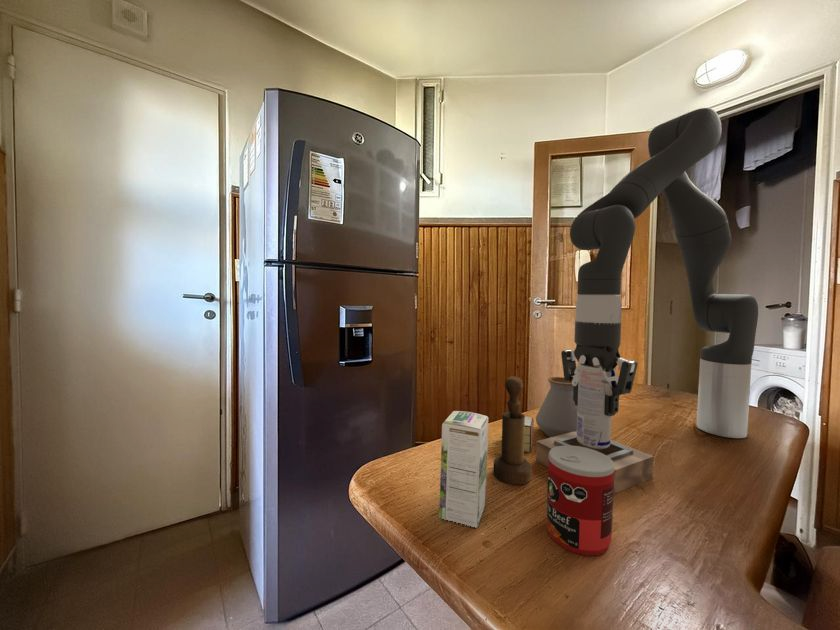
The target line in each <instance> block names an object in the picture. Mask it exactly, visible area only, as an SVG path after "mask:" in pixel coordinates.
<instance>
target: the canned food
mask: <svg viewBox="0 0 840 630" xmlns="http://www.w3.org/2000/svg"><path fill="white" fill-rule="evenodd" d="M546 488H547V489H546V491H547V492H546V494H547V495H546V520H545V521H546V522H545V523H546V528H547V532H548V534H549V536H550V538H551V539H552V540H553V541H554V542H555V543H556V544H558V545H559V546H560V547H562V548H564V549H565V550H566V551H569V552H571V553H574V554H577V555H583V556H587V557H588V556H590V557H592V556H599V555H602V554H605V553H606V552H607V551H608V550H609V548H610V545H611V542H612V531H613V513H614V512H613V510H614V495H615V494H614V463H613V461H612V460H611V459H610V458H609V457H608V456H606V455H604V454H602V453H600V452H598V451H595V450H592V449H589V448H585V447H580V446H570V445H565V446H557V447H554V448H552V449H551V450H550V451H549V456H548V468H547V487H546Z"/></svg>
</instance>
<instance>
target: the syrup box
mask: <svg viewBox="0 0 840 630" xmlns="http://www.w3.org/2000/svg"><path fill="white" fill-rule="evenodd" d="M488 436H489V417H488V416H487V415H484V414H480V413H476V412H472V411H465V410H464V411H462V410H453V411H452V412H451V413H450V415H449V416H448V417H447V418H446V419H445V420H444V421H443V423H442V425H441V443H440V444H441V446H440V447H441V450H440V451H441V452H440V453H441V455H440V478H439V479H440V483H439V485H440V486H439V513H438V518H439V519H440V518H441V519H440V520H442V519H444V520H443V521H446V520H448V521H447V522H450V521H453V522H452V523H454V522H456V523H455V524H458V523H461V524H460V525H462V524H465V525H464V526H466V525H467V526H466V527H470V526H471V528H474V527H475V529H478V527H479V525H480V522H481V519H482V516H483V513H484V510H485V507H486V498H487V497H486V496H487V495H486V494H487V467H488V465H487V464H488V442H489V441H488Z"/></svg>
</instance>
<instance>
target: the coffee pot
mask: <svg viewBox="0 0 840 630" xmlns="http://www.w3.org/2000/svg"><path fill="white" fill-rule="evenodd" d="M547 381H548V382H549V385H550V388H549V391H548V392H547V394H546V397H544V400H543V402H542V405H540V408H539V411H538V412H537V413H536V417H535V422H536V425H537V426H538V427H539V429H540V430H541V431H542V432H543V433H544V435H546V436H548V438H551V437H555V436H558V435H562V434H566V433H570V432H574V431H577V411H578V406H576V405H575V402H574V400H573V385H572V383H571V382H569V381H566V380H565V379H564V376H563V377H562V376H552V377H548V379H547Z"/></svg>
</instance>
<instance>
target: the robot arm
mask: <svg viewBox="0 0 840 630" xmlns="http://www.w3.org/2000/svg"><path fill="white" fill-rule="evenodd" d="M722 130H723V129H722V121H721V117H719V115H718V113H717V111H716V110H714V109H713V108H711V107H710V108H709V107H701V108H698V109H695V110H692V111H688V112H686V113H683V114H682V115H678V116H677V117H675V118H672V119H670V120H667V121H665V122H662V123H660V124H658V125H656V126H655V127H654V128H652V130H651V131H650V133H649V136H648V139H647V149H648V154H649V158H648V159H647V160H645V161H644V162H642V163H640V164H638V166H636V167H634V168H633V169H632V170H630V171H629V172H628V173H627V174H625V176H623V178H622V179H620V181H619V182H618V183H617V184H615V186H614V187H613V188H611V190H610V191H609V192H608V193H606V194H605V195H604V196H602V197H600V198H599V199H597V200H596V201H594V202H593V203H592V204H590V205H589V206H587V207H585V209H582V211H581V212H580V213H579V214H577V216H575V219H574V220H573V221H572V223H571V225H570V228H569V229H570V230H569V238H570V242H571V244H572V245H573V246H574V247H575V248H577V249H579V250H582V251H594V250H598V252H597V253H596V256H595V258H594V259H593V260H591V261H588V262H586V263H583V264H581V266H580V267H579V269H578V274H577V295H576V302H575V308H574V309H575V314H574V336H573V337H574V338H573V339H574V343H575V345H576V346H575V348H574V349H566V350H561V352H560V353H561V355H560V356H561V363H562V370H563V377H564V379H565V380H566V381H569V382H571V383H572V385H573V400H574V402H575V405H576V406H578V382H579V368H580V366H579V364H581V365H587V366H592V367H595V368H600V369H601V370H600V372H601V375H602V376H601V382H602V383H604V388H605V391H606V394H607V395H605V411H604V414H605V415H607V416H611V417H612V416H615V415H616V414H618V412H619V409H620V408H619V403H620V396H622V395H626V394H627V395H628V394H630V393H631V392H632V389H633V385H634V381H635V378H636V377H635V376H636V374H637V373H636V372H637V368H638V364H639V363H638V361H636V360H635V359H634V360H628V359H625V358H623V357H622V356H621V354H620V351H619V348H620V346H621V339H622V338H621V337H622V335H621V334H622V333H621V332H622V310H623V309H622V298H621V297H622V296H621V293H622V273H623V270H624V267H625V264H626V260H627V257H628V253H629V251H630V249H631V248H630V247H631V245H632V243H633V240H634V236H635V233H636V231H635V230H636V221H635V219H637V218H638V217H640V216H641V215H642V214H643V213H644V211H646V209H648V207H649V206H651V204H652V203H653V202H654V201H655V199H657V197H658V196H659V195H660V194H662V192H663V194H664V197H665V200H666V204H667V207H668V210H669V213H670V217H671V221H672V226H673V230H674V235H675V239H676V241H677V242H676V243H677V246H678V249H679V251H680V252H679V253H680V255H681V258H682V261H683V265H684V269H685V273H686V276H687V282H688V288H689V295H690V300H691V301H690V302H691V309H692V314H693V318H694V321H695V323H696V325H697V327H698V328H699V329H700V330H702V331H706V332H713V333H723V334H724V333H726V334H727V333H728V334H729V336H728V338H727V340H725V341H724V342H721V343H718V344H714V345H706V346H703V347H702V348H701V349H700V354H699V355H700V356H699V357H700V359H699V373H698V375H699V376H698V395H697V407H696V408H697V410H696V411H697V412H696V427H697V428H698V429H699V430H701V431H703V432H706V433H708V434H711V435H715V436H719V437H724V438H730V439H745V438H746V437H747V436H748V425H749V413H750V412H749V408H750V397H751V396H750V394H751V393H750V391H751V376H752V375H751V374H752V360H753V354H754V350H755V344H756V343H755V341H756V333H757V327H758V321H759V320H758V319H759V306H758V301H757V299H756V298H755V297H754V296H753V295H752V294H743V293H742V294H740V293H739V294H738V293H737V294H736V293H735V294H734V293H728V294H727V293H720V294H718V293H716V292H715V290H714V284H713V283H714V281H713V280H714V277H715V275H716V272H717V270H718V269H719V267H720V265H721V263H722V262H723V260H724V258H726V255H727V254H728V252H729V250H730V247H731V245H732V235H731V229H730V226H729V225H730V224H729V220H728V216H727V214H726V211H725V210H724V209H723V208H722V206H721V205H719V204H718V202H716V201H715V200H714V199H712V198H711V197H710V196H709V195H707V194H706V193H704V192H703V191H702V190H700V189H699V188H698V187H697V186H696V185H695V184H694V183H693V182H692V180H691V179H690V178H689V176H688V174H687V171H688V170H689V169H691V167H693V166H694V165H695V164H697V163H698V162H699V161H701V160H703V159H704V158H705V157H706V156H708V155H709V154H711V152H713V151H714V150H715V149H716V147H717V146H718V144H719V142H720V139H721V137H722V132H723V131H722ZM576 361H577V363H576ZM617 366H618V368H617V369H618V371H619V375H618V374H617V370H616V367H617ZM604 369H605V370H604ZM612 371H613V376H612V377H607V375H606V372H612ZM611 381H612V385H611Z"/></svg>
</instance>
